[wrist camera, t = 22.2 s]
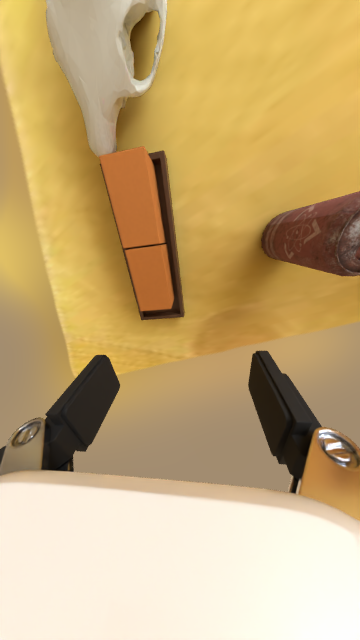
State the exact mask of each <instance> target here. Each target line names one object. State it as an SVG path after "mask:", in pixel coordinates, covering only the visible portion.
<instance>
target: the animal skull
mask: <svg viewBox="0 0 360 640" xmlns="http://www.w3.org/2000/svg"><path fill="white" fill-rule="evenodd" d="M46 3H47V10H46V20H47V28H48V34H49V38H50V42H51V45H52V48H53V55H54V57H55V60H56V62H58V64H59V66H60V68H61V69H62V71H63V73H64V74H65V76H66V78H67V80H68V82H69V84H70V86H71V88H72V90H73V92H74V95H75V97H76V99H77V101H78V103H79V106H80V108H81V110H82V113H83V118H84V122H85V126H86V131H87V137H88V143H89V146H90V149H91V150H92V151H93V152H94V154H95V155H96V156H98V157H99V156H101V155H106V154H110V153H115V152H116V150H117V143H116V123H117V119H118V114H119V111H120V108H121V107H122V108H125V105H126V100H127V99H128V98H129V97H139V96H141V95H143V94H144V93H145V92H146V91H148V90H149V89H150V87H151V86H152V83H153V81H154V78H155V74H156V71H157V68H158V64H159V60H160V55H161V51H162V47H163V41H164V33H165V24H166V14H167V0H46ZM152 10H155V11H158V14H159V17H160V30H159V34H158V36H157V46H156V49H155V51H154V63H153V67H152V71H151V74H150V75H149V76H148V77H147V78H146V79H144V80H142V81H139V80H136V79H134V78H133V76H134V66H133V63H134V54H133V52H132V50H131V44H130V34H131V30H132V29H133V27H134V25H135V24H136V23H137V22H139V21H140V20H141V19H142V17H143V16H144V14H145V13H146V12H147V13H148V12H151V11H152Z"/></svg>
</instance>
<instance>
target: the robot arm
mask: <svg viewBox="0 0 360 640" xmlns="http://www.w3.org/2000/svg"><path fill="white" fill-rule="evenodd" d="M248 385H249V391H250V394H251V396H252V399H253V402H254V405H255V408H256V410H257V414H258V416H259V419H260V422H261V425H262V428H263V431H264V433H265V436H266V439H267V442H268V445H269V448H270V451H271V453H272V455H273V456H276V457H277V460H278V462H279V464H286V465H287V467H288V470H289V472H290V474H291V475H292V478H291V481H290V485H289V488H288V492H283V491H277V490H271V489H262V488H252V487H244V486H234V485H223V484H213V483H200V482H190V481H179V480H167V479H155V478H143V477H132V476H120V475H107V474H94V473H81V472H74V468H73V454H74V452H75V450H77V451H86V450H87V448H88V446H89V445H90V444H91V443H92V442H93V440H94V438H95V436H96V434H97V432H98V430H99V428H100V426H101V424H102V422H103V420H104V418H105V416H106V414H107V412H108V410H109V408H110V406H111V404H112V402H113V401H114V399H115V396H116V394H117V393H118V391H119V388H120V384H119V381H118V379H117V376H116V374H115V371H114V369H113V367H112V364H111V362H110V359H109V358H108V357H107V356H106V355H96V356H95V357H94V358H93V359H92V360H91V361H90V362H89V364H88V365H87V366H86V367H85V368H84V369H83V371H82V372H81V373H80V374H79V375H78V377H77V378H76V379H75V380H74V381H73V382H72V384H71V385H70V386H69V387H68V388H67V389H66V391H65V392H64V393H63V394H62V395H61V397H60V398H59V399H58V400H57V401H56V402H55V404H54V405H53V406H52V407H51V408H50V409H49V411H48V412H47V413H46V416H47V418H46V419H45V420H44V419H43V418H35V419H32V420H30V421H28V422H26V423H25V424H23V425H22V426H21V427H19V428H18V429H17V430H16V431H15V432H14V433H13V434H12V436H11V437H10V438H9V440H8V442H7V445H6V446H4V447H3V448H1V449H0V640H360V449H359V447H357V445H356V444H355V443H354V442H353V441H352V440H350V439H349V438H348V437H347V436H345V435H344V434H342V433H340V432H338V431H336V430H334V429H331V428H326V427H322V426H321V425H320V423H319V422H318V421H317V419H316V417H315V416H314V414H313V413H312V411H311V410H310V408H309V407H308V405H307V404H306V402H305V401H304V399H303V398H302V396H301V395H300V393H299V392H298V390H297V389H296V387H295V386H294V384H293V383H292V381H291V380H290V378H289V377H288V376H287V375H286V374H282V373H281V371H280V370H279V368H278V367H277V365H276V363H275V362H274V360H273V359H272V357H271V355H270V354H269V352H268V351H256V353H254V354H253V356H252V362H251V369H250V377H249V384H248Z"/></svg>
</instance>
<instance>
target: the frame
mask: <svg viewBox="0 0 360 640" xmlns="http://www.w3.org/2000/svg"><path fill="white" fill-rule="evenodd" d="M148 155H149V157H150V159H151V160H152V162H153V164H154V166H155V172H156V178H157V185H158V192H159V199H160V206H161V213H162V220H163V227H164V234H165V240H166V243H161V244H154V245H146V246H139V247H131V248H123V245H122V241H121V237H120V234H119V237H120V241H121V245H122V249H123V252H124V256H125V260H126V264H127V267H128V271H129V275H130V279H131V282H132V286H133V290H134V294H135V298H136V301H137V305H138V309H139V313H140V316H141V320H149V319H162V318H176V317H184V304H183V295H182V286H181V278H180V269H179V261H178V252H177V244H176V235H175V226H174V218H173V209H172V201H171V192H170V184H169V175H168V166H167V158H166V155H165V152H164V151H159V152H154V153H149V154H148ZM100 166H101V169H102V165H101V164H100ZM102 173H103V169H102ZM103 177H104V173H103ZM104 181H105V184H106V180H105V177H104ZM106 188H107V184H106ZM107 192H108V188H107ZM108 196H109V192H108ZM109 200H110V203H111V199H110V196H109ZM111 207H112V203H111ZM112 211H113V207H112ZM113 215H114V211H113ZM114 218H115V215H114ZM115 222H116V218H115ZM116 226H117V222H116ZM117 230H118V226H117ZM118 233H119V230H118ZM163 244H167V248H168V255H169V262H170V269H171V276H172V283H173V290H174V297H175V298H174V301H173V304H172V308H171V309H163V310H150V311H141V310H140V307H139V303H138V299H137V295H136V291H135V287H134V284H133V280H132V276H131V272H130V268H129V264H128V260H127V257H126V253H125V250H129V249H134V248H141V247H148V246H156V245H163Z"/></svg>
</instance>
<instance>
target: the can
mask: <svg viewBox="0 0 360 640" xmlns="http://www.w3.org/2000/svg"><path fill="white" fill-rule="evenodd" d="M261 241H262V248H263V251H264V253H265V254H266V255H267V256H268V257H271V258H273V259H277V260H281V261H285V262H289V263H293V264H297V265H300V266H304V267H308V268H312V269H316V270H320V271H324V272H328V273H332V274H336V275H340V276H357V275H360V191H359V192H356V193H352V194H349V195H345V196H342V197H338V198H334V199H331V200H327V201H324V202H320V203H316V204H313V205H309V206H306V207H302V208H299V209H295V210H291V211H288V212H285V213H282V214H279V215H278V216H276V217H275V218H273V219H272V220H271V221H270V223H269V224H268V225H267V226H266V228H265V230H264V232H263V236H262V240H261Z"/></svg>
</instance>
